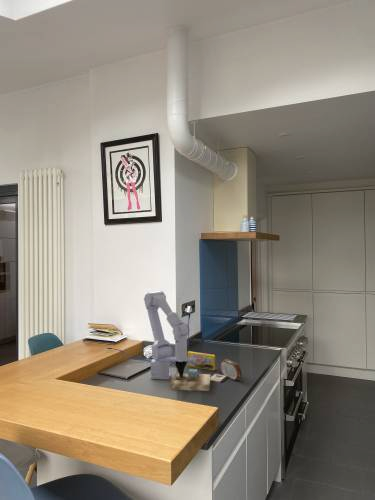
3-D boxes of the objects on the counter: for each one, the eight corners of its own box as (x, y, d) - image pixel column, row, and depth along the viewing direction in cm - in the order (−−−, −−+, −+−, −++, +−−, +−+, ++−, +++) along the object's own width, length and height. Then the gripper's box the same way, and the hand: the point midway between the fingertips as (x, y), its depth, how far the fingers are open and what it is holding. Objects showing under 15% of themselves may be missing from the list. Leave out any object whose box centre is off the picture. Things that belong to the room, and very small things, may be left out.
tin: (242, 381, 185) (242, 364, 185) (237, 382, 184) (236, 365, 184) (224, 372, 198) (224, 357, 198) (219, 373, 197) (219, 358, 197)
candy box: (187, 366, 209) (187, 351, 209) (189, 365, 211) (189, 351, 211) (213, 370, 202) (213, 355, 202) (215, 369, 204) (215, 354, 204)
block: (188, 380, 179) (188, 371, 179) (189, 377, 183) (189, 369, 183) (196, 380, 179) (196, 371, 179) (197, 377, 183) (197, 369, 183)
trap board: (170, 389, 175) (170, 380, 175) (175, 379, 189) (175, 370, 189) (209, 390, 173) (209, 381, 173) (210, 380, 187) (210, 371, 187)
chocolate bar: (235, 371, 200) (222, 381, 184) (235, 372, 200) (222, 383, 184) (219, 368, 204) (205, 378, 188) (219, 370, 204) (205, 380, 188)
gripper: (165, 350, 178) (165, 379, 178) (195, 351, 177) (195, 380, 177) (167, 347, 185) (167, 374, 185) (196, 347, 184) (196, 375, 184)
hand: (181, 376), depth 182 cm, fingers closed
